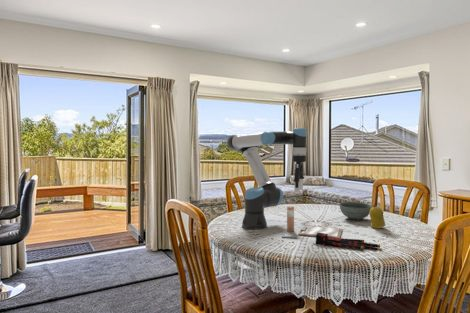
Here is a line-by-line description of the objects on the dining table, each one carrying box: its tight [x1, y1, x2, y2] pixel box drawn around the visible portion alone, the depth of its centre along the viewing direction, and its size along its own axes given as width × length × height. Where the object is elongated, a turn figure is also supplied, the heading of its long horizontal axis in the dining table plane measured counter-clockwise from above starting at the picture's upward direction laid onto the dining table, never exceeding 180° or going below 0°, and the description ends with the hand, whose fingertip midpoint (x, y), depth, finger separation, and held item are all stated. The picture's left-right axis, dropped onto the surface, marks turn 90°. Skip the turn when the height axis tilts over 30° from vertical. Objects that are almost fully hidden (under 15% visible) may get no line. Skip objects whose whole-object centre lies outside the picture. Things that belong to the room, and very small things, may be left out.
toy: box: [315, 233, 381, 251], centre depth 169 cm, size 8×5×30 cm
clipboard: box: [297, 225, 343, 238], centre depth 194 cm, size 22×20×2 cm
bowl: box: [338, 201, 373, 222], centre depth 227 cm, size 21×21×10 cm
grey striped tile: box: [281, 233, 298, 239], centre depth 187 cm, size 8×6×1 cm
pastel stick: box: [286, 205, 295, 233], centre depth 198 cm, size 4×4×14 cm
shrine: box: [368, 204, 386, 230], centre depth 202 cm, size 12×8×15 cm
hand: (298, 191), depth 197 cm, fingers open, 13 cm apart
